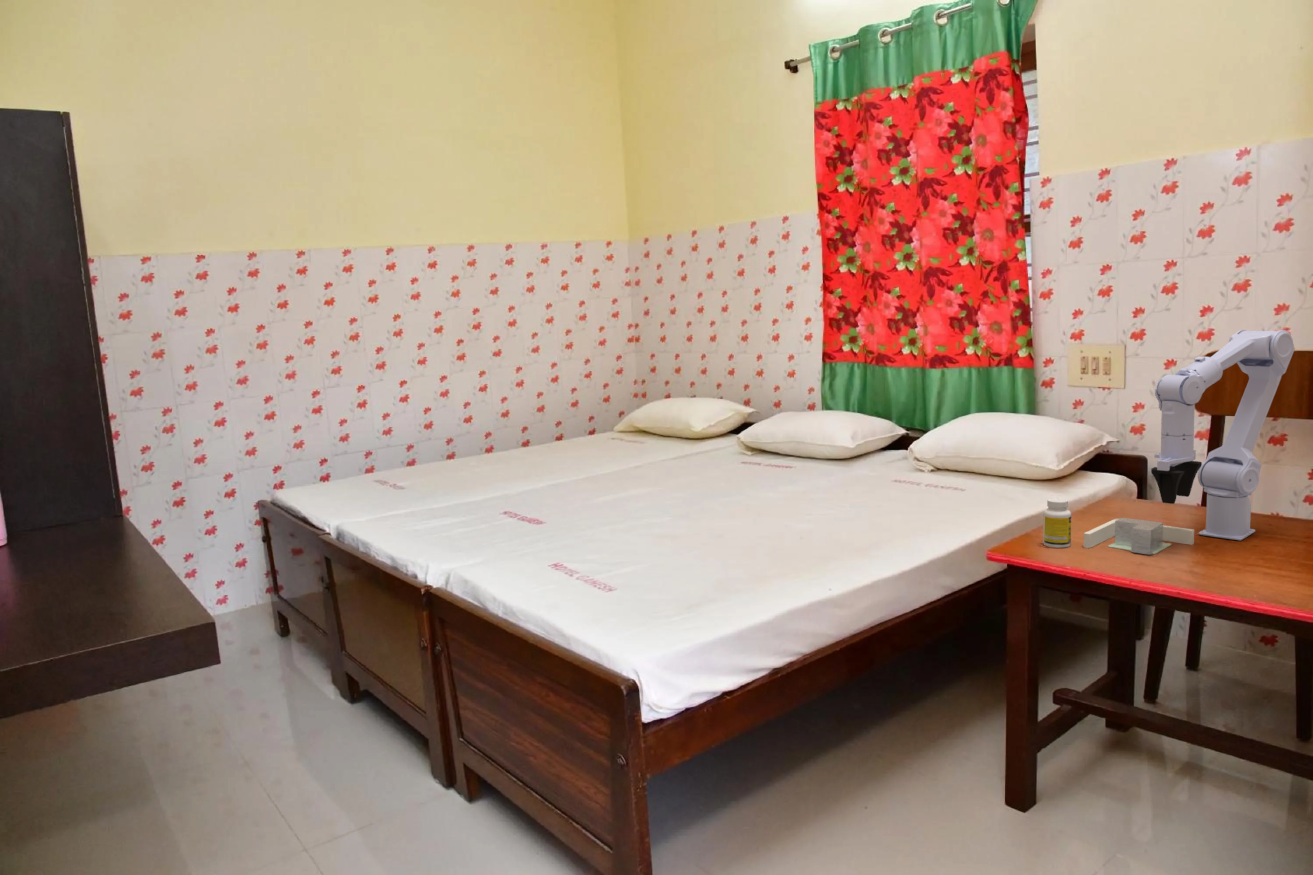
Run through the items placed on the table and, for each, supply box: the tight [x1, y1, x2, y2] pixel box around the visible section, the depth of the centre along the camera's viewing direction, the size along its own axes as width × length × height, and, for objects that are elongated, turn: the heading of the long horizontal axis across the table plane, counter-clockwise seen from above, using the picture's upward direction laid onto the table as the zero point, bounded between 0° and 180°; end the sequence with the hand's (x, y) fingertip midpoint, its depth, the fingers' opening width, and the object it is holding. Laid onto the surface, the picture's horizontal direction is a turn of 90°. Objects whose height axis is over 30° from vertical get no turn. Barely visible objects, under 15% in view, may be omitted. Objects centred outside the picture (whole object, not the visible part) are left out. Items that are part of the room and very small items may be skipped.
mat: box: [1107, 542, 1172, 555], centre depth 182 cm, size 9×9×1 cm
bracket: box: [1114, 517, 1164, 556], centre depth 180 cm, size 8×8×5 cm
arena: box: [1083, 518, 1195, 549], centre depth 182 cm, size 16×16×3 cm
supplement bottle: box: [1042, 497, 1072, 549], centre depth 186 cm, size 5×5×10 cm
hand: (1175, 499), depth 180 cm, fingers open, 7 cm apart
